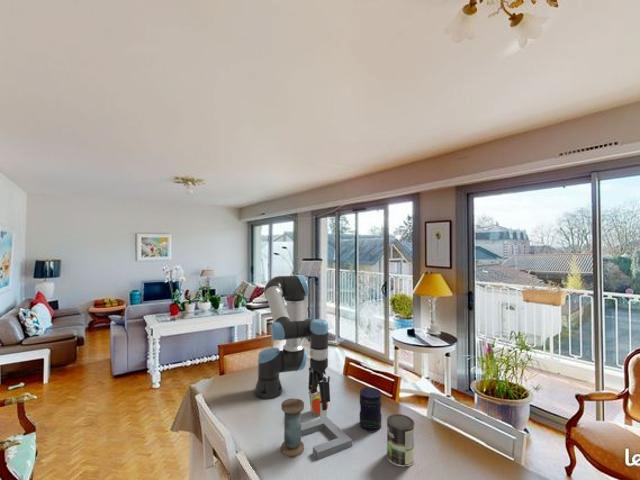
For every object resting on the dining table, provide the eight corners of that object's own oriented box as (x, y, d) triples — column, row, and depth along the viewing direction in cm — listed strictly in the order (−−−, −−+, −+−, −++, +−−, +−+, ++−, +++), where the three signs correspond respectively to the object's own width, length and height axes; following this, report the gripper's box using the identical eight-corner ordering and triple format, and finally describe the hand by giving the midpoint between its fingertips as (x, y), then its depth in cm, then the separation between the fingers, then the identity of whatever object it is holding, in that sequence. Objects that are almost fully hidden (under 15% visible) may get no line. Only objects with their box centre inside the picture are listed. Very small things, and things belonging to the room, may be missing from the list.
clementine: (313, 419, 126) (313, 402, 126) (306, 411, 132) (306, 394, 132) (331, 415, 129) (331, 397, 129) (323, 407, 135) (323, 390, 136)
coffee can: (391, 468, 114) (391, 429, 114) (383, 450, 124) (383, 414, 125) (418, 466, 115) (418, 428, 115) (408, 448, 125) (408, 413, 125)
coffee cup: (324, 418, 147) (324, 393, 147) (306, 416, 148) (306, 391, 149) (327, 409, 155) (327, 385, 155) (310, 407, 157) (310, 383, 157)
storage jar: (383, 421, 144) (383, 389, 145) (379, 433, 135) (380, 398, 136) (361, 417, 148) (361, 386, 148) (357, 429, 138) (357, 395, 139)
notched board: (295, 432, 136) (295, 426, 136) (326, 422, 144) (326, 416, 144) (317, 459, 119) (317, 452, 119) (352, 446, 127) (352, 439, 127)
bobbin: (277, 446, 126) (277, 401, 126) (297, 440, 130) (297, 396, 131) (286, 459, 118) (286, 411, 119) (307, 452, 123) (307, 406, 123)
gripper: (300, 352, 138) (300, 404, 137) (323, 367, 121) (323, 427, 120) (315, 349, 142) (315, 400, 141) (339, 363, 124) (339, 421, 124)
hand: (318, 412), depth 131 cm, fingers closed on clementine, 7 cm apart
